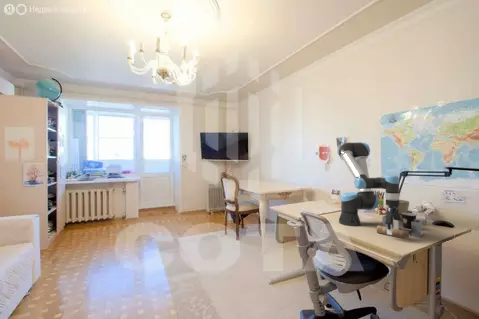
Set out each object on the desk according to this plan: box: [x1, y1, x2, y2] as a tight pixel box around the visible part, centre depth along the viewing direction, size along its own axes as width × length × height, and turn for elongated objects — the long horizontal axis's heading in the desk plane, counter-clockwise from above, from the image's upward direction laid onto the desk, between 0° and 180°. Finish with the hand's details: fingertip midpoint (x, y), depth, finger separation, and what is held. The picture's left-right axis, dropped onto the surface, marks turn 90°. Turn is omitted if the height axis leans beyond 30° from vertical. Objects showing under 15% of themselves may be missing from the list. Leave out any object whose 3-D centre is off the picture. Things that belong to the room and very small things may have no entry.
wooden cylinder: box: [376, 225, 410, 240], centre depth 152 cm, size 17×5×5 cm, turn 41°
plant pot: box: [387, 199, 410, 223], centre depth 186 cm, size 15×15×16 cm
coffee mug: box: [399, 212, 417, 230], centre depth 169 cm, size 12×9×10 cm
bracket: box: [381, 214, 424, 238], centre depth 159 cm, size 22×8×9 cm, turn 41°
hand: (392, 232), depth 151 cm, fingers open, 13 cm apart
